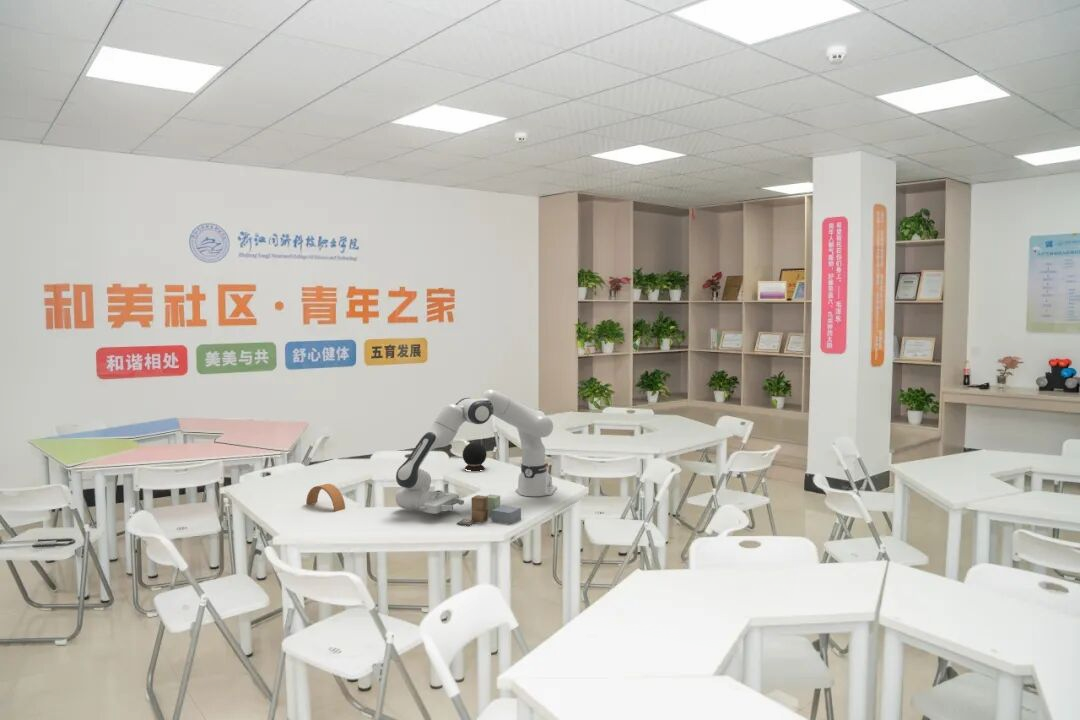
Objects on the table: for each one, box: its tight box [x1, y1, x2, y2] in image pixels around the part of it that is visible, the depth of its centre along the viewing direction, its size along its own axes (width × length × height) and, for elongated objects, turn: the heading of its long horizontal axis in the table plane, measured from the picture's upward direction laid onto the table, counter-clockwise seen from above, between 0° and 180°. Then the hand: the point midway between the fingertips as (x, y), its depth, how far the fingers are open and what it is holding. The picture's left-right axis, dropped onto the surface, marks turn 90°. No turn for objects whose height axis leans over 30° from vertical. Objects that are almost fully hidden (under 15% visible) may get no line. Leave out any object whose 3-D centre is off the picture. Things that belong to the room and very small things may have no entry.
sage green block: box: [487, 494, 501, 517], centre depth 316 cm, size 5×5×8 cm
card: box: [456, 518, 477, 527], centre depth 303 cm, size 6×6×1 cm
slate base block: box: [491, 504, 522, 525], centre depth 308 cm, size 9×9×5 cm
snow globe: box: [461, 442, 488, 472], centre depth 403 cm, size 13×13×15 cm
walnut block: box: [471, 494, 489, 524], centre depth 308 cm, size 5×5×10 cm
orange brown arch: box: [305, 483, 346, 513], centre depth 329 cm, size 6×20×10 cm, turn 54°
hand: (457, 505), depth 312 cm, fingers open, 8 cm apart
